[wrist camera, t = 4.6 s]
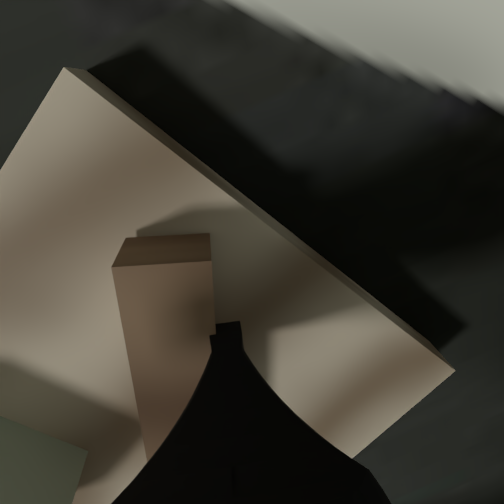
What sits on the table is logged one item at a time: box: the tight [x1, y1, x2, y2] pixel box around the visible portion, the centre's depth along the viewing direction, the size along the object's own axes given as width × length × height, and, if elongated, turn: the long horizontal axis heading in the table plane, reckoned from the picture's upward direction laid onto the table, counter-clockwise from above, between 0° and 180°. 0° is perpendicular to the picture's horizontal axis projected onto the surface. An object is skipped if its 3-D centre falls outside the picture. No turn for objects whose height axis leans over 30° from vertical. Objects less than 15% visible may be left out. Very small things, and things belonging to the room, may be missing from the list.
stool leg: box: [111, 233, 216, 462], centre depth 13 cm, size 12×3×2 cm, turn 1°
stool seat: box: [0, 67, 455, 504], centre depth 15 cm, size 18×16×2 cm
